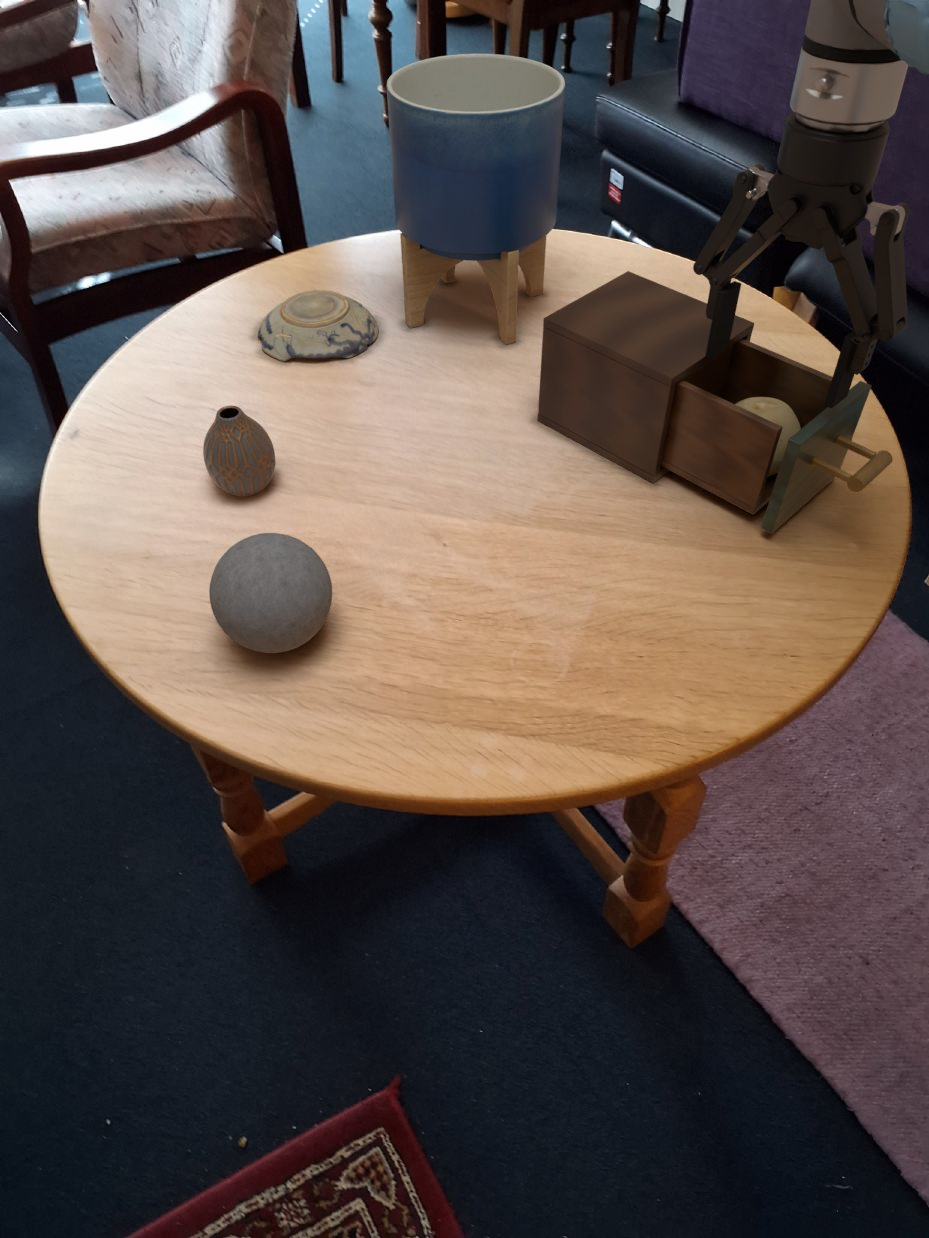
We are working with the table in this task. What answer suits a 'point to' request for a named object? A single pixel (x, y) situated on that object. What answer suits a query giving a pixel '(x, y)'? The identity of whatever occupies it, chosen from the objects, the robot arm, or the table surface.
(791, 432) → the apple
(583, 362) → the cabinet
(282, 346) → the decorative bowl
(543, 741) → the table surface
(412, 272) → the planter
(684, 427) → the drawer
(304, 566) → the decorative ball
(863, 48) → the robot arm
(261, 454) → the vase
